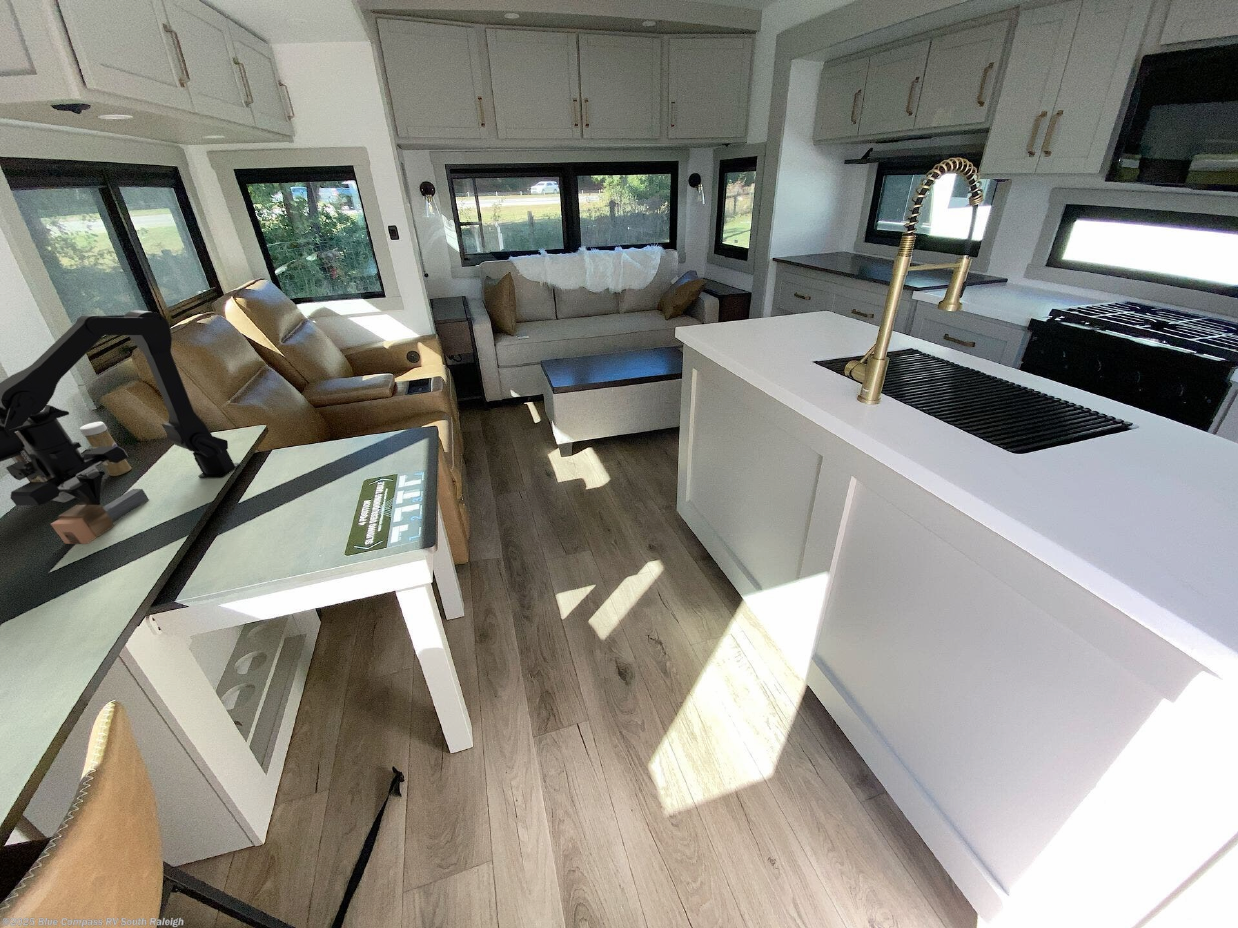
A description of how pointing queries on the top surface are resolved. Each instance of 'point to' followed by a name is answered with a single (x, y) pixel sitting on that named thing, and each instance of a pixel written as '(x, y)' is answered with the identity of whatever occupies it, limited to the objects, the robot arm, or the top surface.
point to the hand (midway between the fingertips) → (96, 507)
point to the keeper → (91, 517)
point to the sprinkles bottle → (101, 437)
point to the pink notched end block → (73, 530)
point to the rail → (120, 507)
